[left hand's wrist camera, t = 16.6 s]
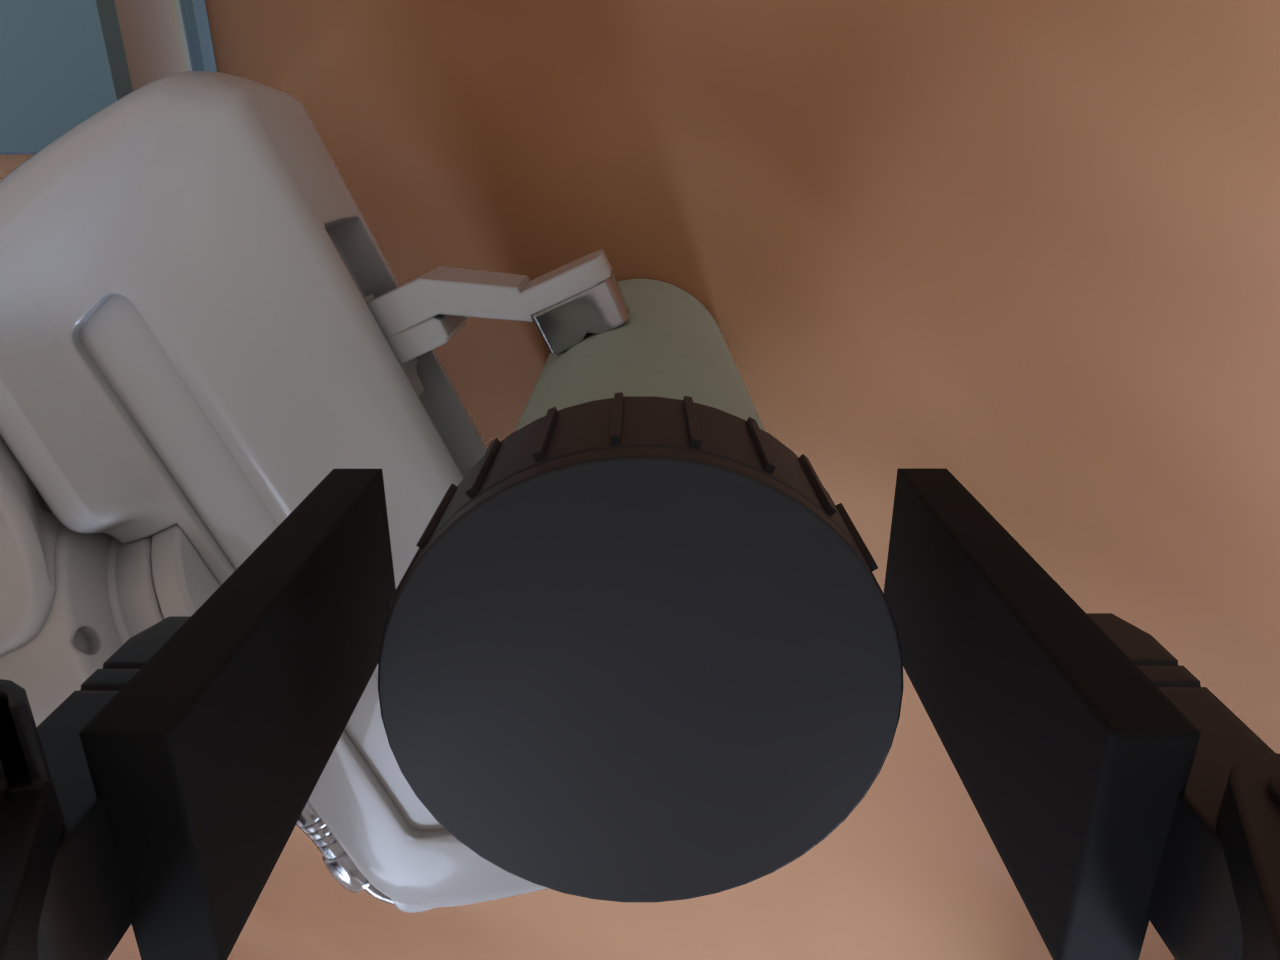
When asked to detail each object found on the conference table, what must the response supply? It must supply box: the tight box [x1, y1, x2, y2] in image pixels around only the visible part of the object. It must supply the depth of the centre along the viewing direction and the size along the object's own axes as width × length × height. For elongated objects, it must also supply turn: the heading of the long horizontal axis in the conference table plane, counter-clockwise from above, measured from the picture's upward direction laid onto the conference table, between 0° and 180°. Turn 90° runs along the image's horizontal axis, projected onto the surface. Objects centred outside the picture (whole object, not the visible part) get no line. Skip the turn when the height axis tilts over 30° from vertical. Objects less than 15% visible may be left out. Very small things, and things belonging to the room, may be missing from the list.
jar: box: [515, 279, 765, 432], centre depth 18 cm, size 5×5×16 cm
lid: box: [378, 392, 903, 902], centre depth 11 cm, size 6×6×2 cm
